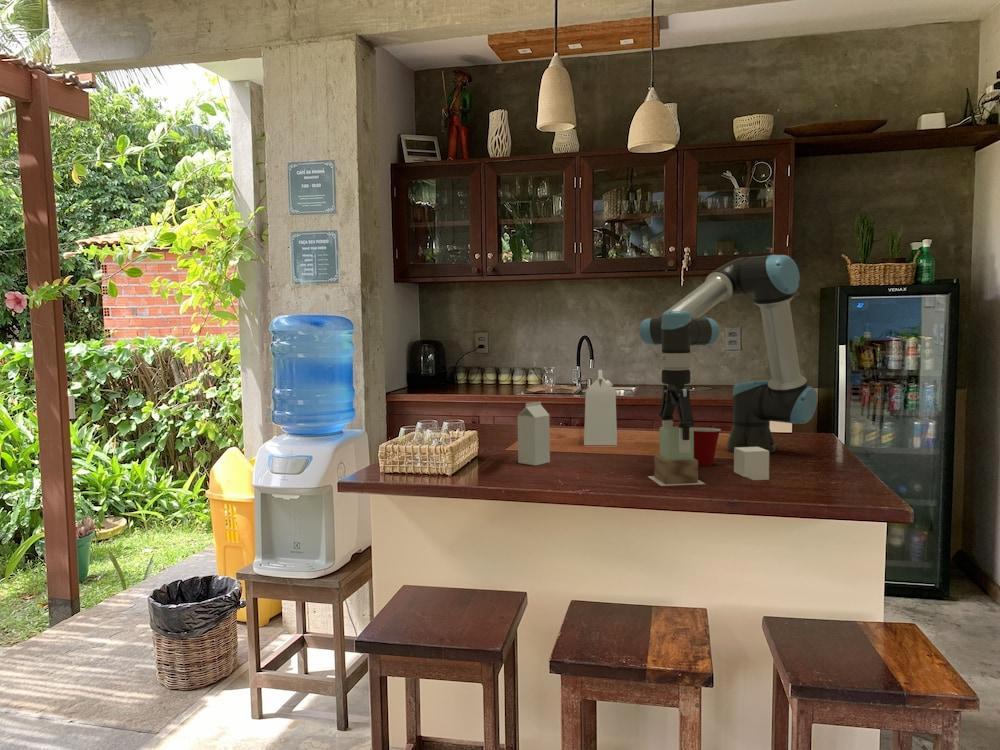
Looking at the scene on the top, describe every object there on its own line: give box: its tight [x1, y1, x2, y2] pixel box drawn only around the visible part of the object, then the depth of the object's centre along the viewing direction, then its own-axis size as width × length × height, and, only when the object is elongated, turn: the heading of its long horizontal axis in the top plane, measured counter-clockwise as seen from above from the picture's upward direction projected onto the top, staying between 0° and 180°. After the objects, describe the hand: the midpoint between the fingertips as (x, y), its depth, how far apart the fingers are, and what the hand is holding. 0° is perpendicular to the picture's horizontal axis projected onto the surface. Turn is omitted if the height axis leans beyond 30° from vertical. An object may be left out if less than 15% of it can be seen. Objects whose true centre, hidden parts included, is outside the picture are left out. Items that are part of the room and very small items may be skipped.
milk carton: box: [517, 401, 551, 466], centre depth 238 cm, size 7×7×19 cm
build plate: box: [647, 475, 706, 487], centre depth 206 cm, size 12×12×1 cm
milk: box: [583, 369, 618, 446], centre depth 272 cm, size 12×12×26 cm
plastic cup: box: [690, 427, 722, 467], centre depth 227 cm, size 11×11×12 cm
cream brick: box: [733, 447, 770, 481], centre depth 213 cm, size 7×7×8 cm
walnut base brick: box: [653, 454, 699, 484], centre depth 206 cm, size 9×9×6 cm
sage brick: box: [659, 425, 694, 461], centre depth 206 cm, size 7×7×8 cm
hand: (675, 448), depth 206 cm, fingers open, 13 cm apart
